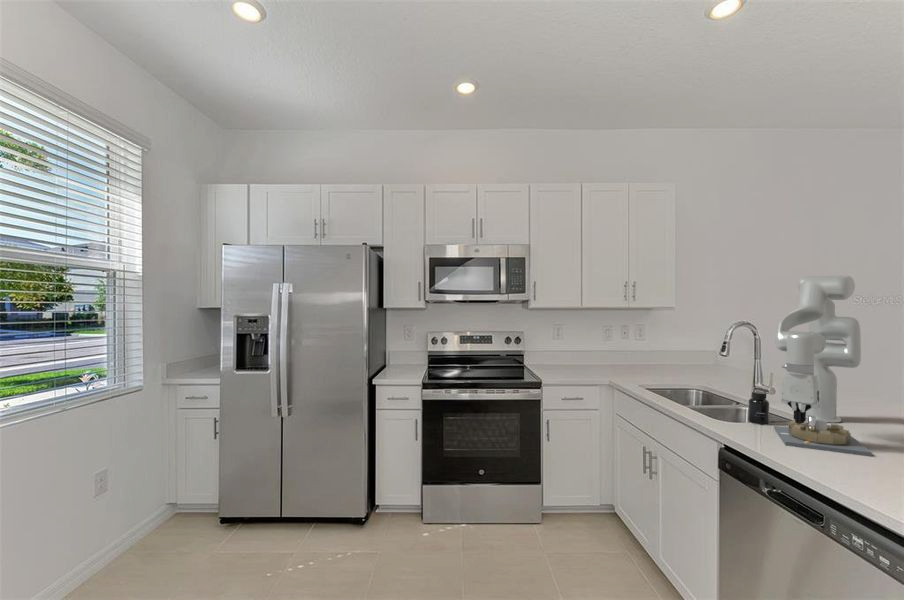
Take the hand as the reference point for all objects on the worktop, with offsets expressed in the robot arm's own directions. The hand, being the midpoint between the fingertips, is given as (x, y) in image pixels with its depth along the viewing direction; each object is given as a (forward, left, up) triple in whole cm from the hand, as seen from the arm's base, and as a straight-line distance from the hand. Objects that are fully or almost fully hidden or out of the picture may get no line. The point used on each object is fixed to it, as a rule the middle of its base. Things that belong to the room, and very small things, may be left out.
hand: (799, 422), depth 155 cm
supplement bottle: (-23, -9, -7) cm, 25 cm away
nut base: (-4, +6, -7) cm, 10 cm away
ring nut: (-4, +6, -5) cm, 9 cm away
